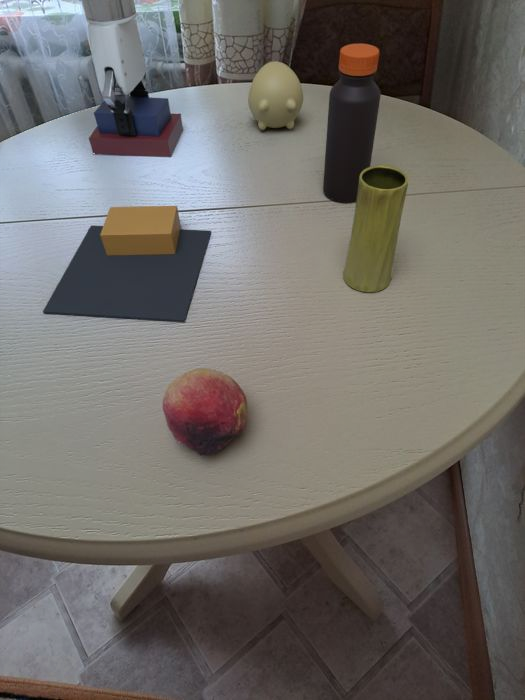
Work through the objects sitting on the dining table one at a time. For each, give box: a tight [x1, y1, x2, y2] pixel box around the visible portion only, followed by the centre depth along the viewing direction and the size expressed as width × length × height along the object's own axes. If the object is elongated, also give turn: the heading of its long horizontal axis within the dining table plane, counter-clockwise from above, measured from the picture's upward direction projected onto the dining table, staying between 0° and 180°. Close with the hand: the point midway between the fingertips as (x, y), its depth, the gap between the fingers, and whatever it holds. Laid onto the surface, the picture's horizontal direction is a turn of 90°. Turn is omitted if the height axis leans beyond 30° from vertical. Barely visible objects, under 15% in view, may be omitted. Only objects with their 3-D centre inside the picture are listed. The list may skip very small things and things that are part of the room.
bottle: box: [322, 43, 382, 204], centre depth 70 cm, size 7×7×20 cm
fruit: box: [161, 367, 248, 456], centre depth 47 cm, size 8×8×8 cm
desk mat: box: [42, 225, 212, 323], centre depth 67 cm, size 18×18×1 cm
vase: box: [342, 164, 409, 293], centre depth 59 cm, size 6×6×14 cm
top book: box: [100, 205, 182, 256], centre depth 69 cm, size 10×7×4 cm
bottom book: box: [88, 113, 184, 158], centre depth 90 cm, size 14×10×3 cm
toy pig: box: [247, 61, 304, 131], centre depth 90 cm, size 10×12×11 cm
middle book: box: [93, 95, 172, 137], centre depth 87 cm, size 11×7×4 cm, turn 79°
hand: (135, 123), depth 88 cm, fingers closed on middle book, 7 cm apart
